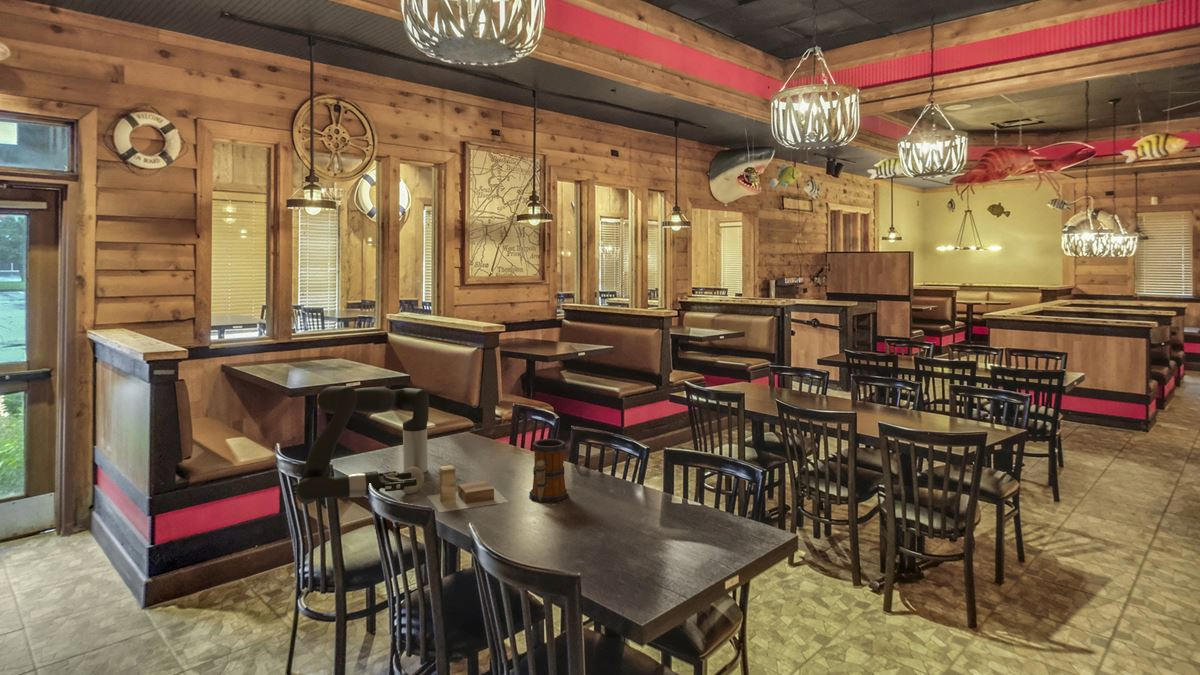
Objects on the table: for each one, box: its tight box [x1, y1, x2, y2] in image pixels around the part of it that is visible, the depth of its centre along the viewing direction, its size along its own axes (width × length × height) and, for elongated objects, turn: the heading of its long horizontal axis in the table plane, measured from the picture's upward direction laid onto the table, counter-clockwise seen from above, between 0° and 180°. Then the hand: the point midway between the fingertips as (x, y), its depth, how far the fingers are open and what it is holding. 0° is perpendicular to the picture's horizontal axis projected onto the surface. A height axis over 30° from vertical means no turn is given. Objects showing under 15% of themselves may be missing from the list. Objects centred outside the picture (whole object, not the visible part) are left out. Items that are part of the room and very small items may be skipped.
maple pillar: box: [438, 464, 457, 505], centre depth 237 cm, size 4×4×12 cm
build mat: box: [426, 487, 510, 513], centre depth 240 cm, size 18×24×1 cm
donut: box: [399, 466, 425, 495], centre depth 246 cm, size 10×3×10 cm, turn 141°
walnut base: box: [457, 480, 495, 504], centre depth 242 cm, size 10×10×4 cm
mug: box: [528, 438, 570, 505], centre depth 240 cm, size 19×14×20 cm
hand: (413, 478), depth 231 cm, fingers open, 8 cm apart
